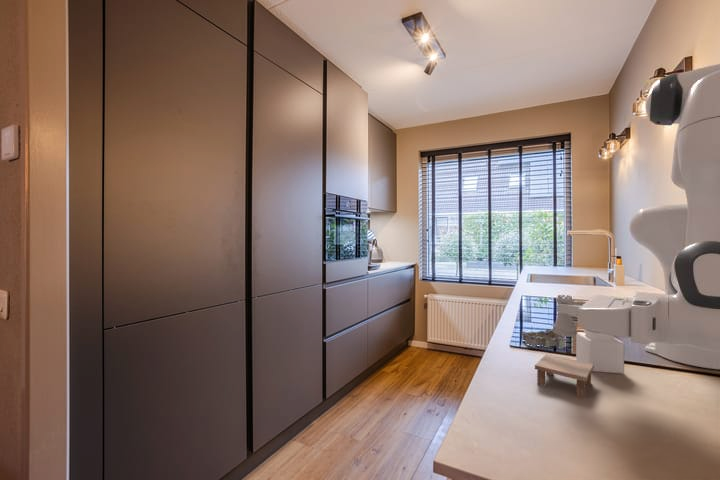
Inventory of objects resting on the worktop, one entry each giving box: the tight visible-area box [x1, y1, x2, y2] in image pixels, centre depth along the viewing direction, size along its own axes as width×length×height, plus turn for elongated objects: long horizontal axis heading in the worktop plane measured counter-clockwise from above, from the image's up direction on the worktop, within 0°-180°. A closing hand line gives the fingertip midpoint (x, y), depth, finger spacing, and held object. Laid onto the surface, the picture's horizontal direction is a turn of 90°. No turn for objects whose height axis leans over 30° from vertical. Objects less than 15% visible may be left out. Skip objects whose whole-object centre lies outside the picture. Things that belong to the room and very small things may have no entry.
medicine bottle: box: [575, 329, 625, 375], centre depth 79 cm, size 7×7×12 cm
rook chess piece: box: [552, 294, 578, 338], centre depth 70 cm, size 4×4×8 cm
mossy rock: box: [520, 328, 568, 349], centre depth 96 cm, size 11×8×4 cm
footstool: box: [534, 353, 594, 398], centre depth 70 cm, size 9×9×4 cm
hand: (560, 306), depth 70 cm, fingers closed on rook chess piece, 3 cm apart
